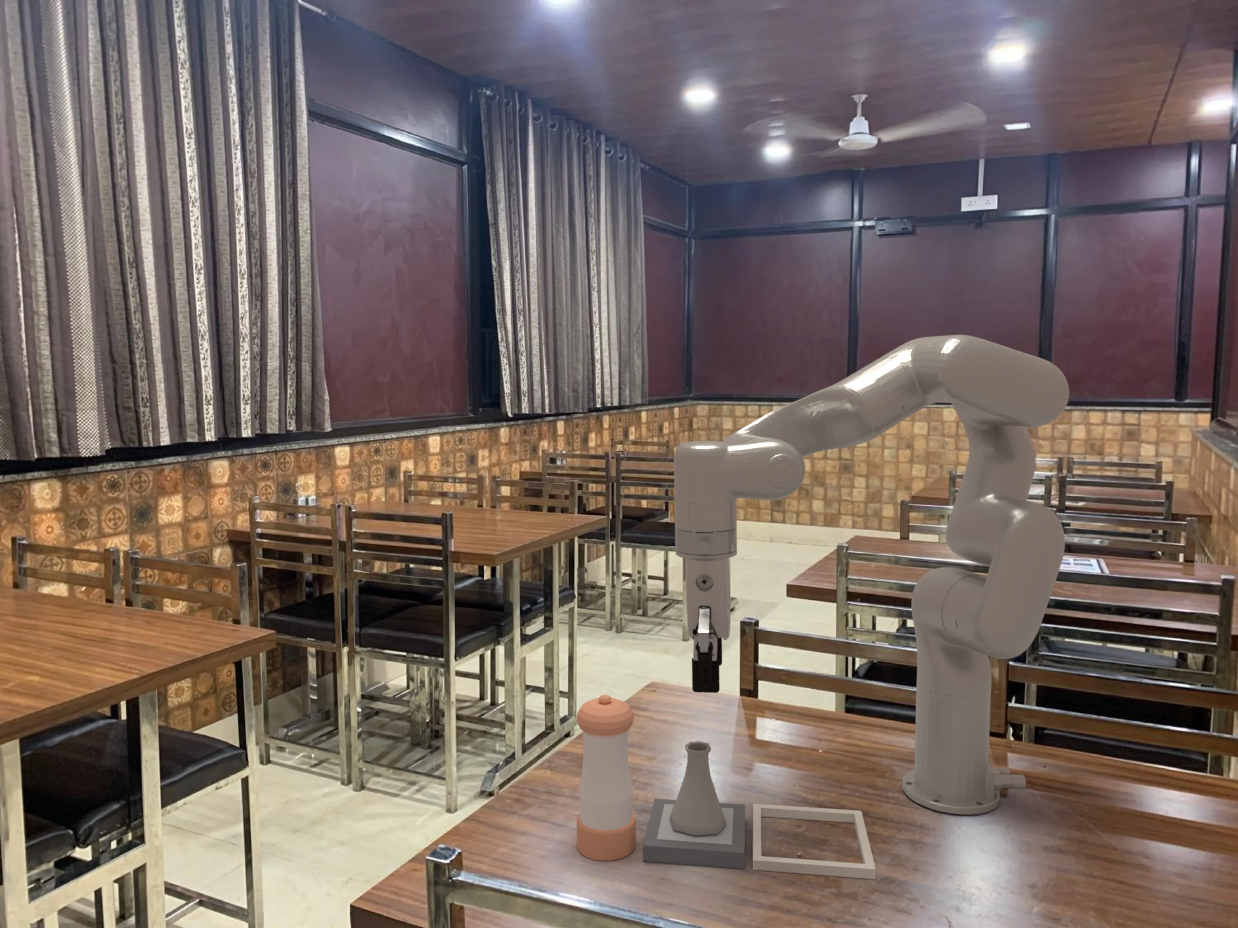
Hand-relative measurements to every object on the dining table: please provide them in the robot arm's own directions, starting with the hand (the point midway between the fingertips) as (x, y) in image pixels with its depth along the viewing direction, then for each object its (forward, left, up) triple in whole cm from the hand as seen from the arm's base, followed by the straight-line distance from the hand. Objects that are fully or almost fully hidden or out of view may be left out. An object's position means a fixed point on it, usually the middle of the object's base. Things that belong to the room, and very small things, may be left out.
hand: (707, 677), depth 110 cm
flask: (+1, +1, -19) cm, 19 cm away
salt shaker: (+12, +4, -21) cm, 25 cm away
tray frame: (-13, 0, -21) cm, 24 cm away
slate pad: (+1, +1, -21) cm, 21 cm away
